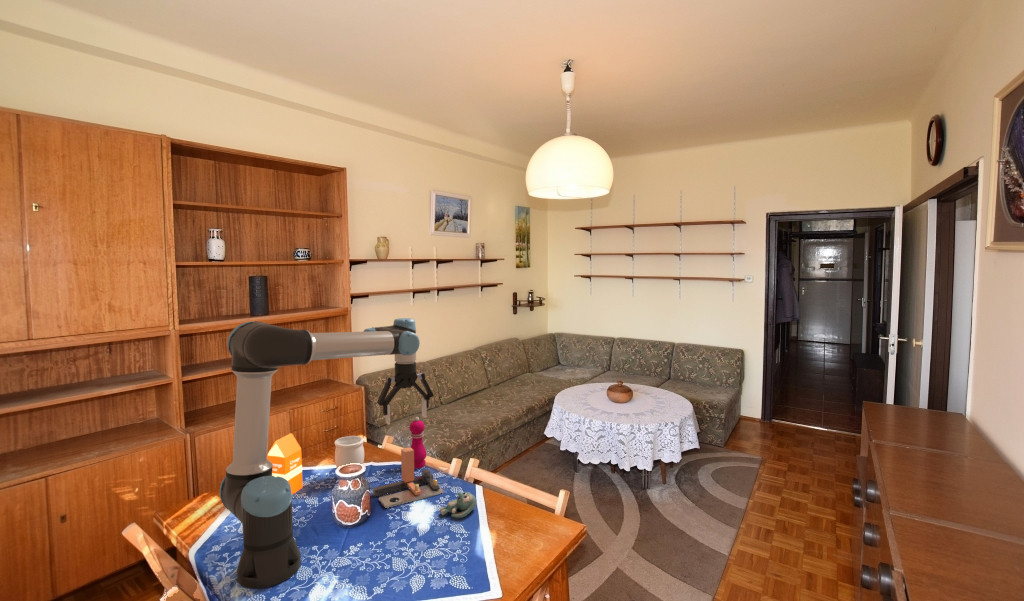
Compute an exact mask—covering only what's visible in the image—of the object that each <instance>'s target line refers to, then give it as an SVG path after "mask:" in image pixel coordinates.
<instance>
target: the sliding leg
mask: <svg viewBox="0 0 1024 601" xmlns="http://www.w3.org/2000/svg"><path fill="white" fill-rule="evenodd" d="M400 452H401V453H400V454H401V456H400V458H401V459H400V461H401V462H400V464H401V481H404V482H405V483H406V482H409V483H407V486H408V490H411V491H412V492H413V493H414V494H415V495H419V494H421V490H420V489H419V487H420V486H419V484H414V483H413V482H410V481H414V478H415V469H414V450H413V449H412V448H411V446H410V447H405V448H401V449H400Z"/></svg>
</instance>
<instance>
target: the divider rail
mask: <svg viewBox="0 0 1024 601" xmlns="http://www.w3.org/2000/svg"><path fill="white" fill-rule="evenodd" d="M410 482H413V483H414V484H419V485H420V486H423V485H422V484H424V485H426V484H425V483H428V484H427V485H430V486H431V487H432V488H433V489H434V490H435V489H438V488H439V486H440V485H439V484H438V479H436V478H434V475H433V473H431V470H430V469H428V468H426V469H421V475H419V476H414V481H410ZM407 483H409V482H406V483H405V482H404V481H403V480H400V481H399V480H398V481H397V482H390V483H387V484H383V485H380V486H376V487H373V488H372V496H373V497H374V498H377V497H381V496H385V495H388V494H387V493H389V494H392V493H391V492H393V493H396V492H395V491H397V492H400V491H399V490H401V491H404V490H408V489H409V488H408V486H407ZM407 488H408V489H407ZM403 489H404V490H403ZM384 494H385V495H384ZM380 495H381V496H380ZM376 496H377V497H376Z"/></svg>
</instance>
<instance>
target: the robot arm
mask: <svg viewBox="0 0 1024 601" xmlns="http://www.w3.org/2000/svg"><path fill="white" fill-rule="evenodd" d="M416 326H417V325H416V321H415V319H413V318H410V317H403V318H402V317H401V318H400V317H399V318H396V319H394V321H393V325H388V326H386V325H385V326H377V327H375V326H372V327H369V328H365V329H364V330H363V331H339V332H338V331H337V332H336V331H335V332H310V331H309V330H308V329H295V328H288V327H283V326H278V325H273V324H270V323H266V322H263V321H254V320H253V321H246V322H242V323H240V324H239V325H237V326H236V327H234V328H233V329H232V330H231V332H230V333H229V335H228V338H227V340H226V345H227V347H226V348H227V350H228V352H229V354H230V355H231V368H230V370H231V372H232V373H233V374H234V375H235V376H236V393H235V394H236V395H235V413H234V430H233V431H234V432H233V449H232V451H233V452H232V461H231V463H229V465H228V466H227V467H226V469H225V476H224V477H223V479H222V481H221V483H220V485H219V498H220V501H221V503H222V505H223V506H224V508H226V510H227V511H229V512H230V513H231V514H232V515H233V516H234V517H236V519H238V520H239V522H240V523H241V526H242V538H243V539H242V541H243V549H242V551H241V555H240V558H239V561H238V564H237V568H236V579H237V583H238V584H239V585H240V586H241V587H242V588H243V587H244V588H247V589H263V588H268V587H269V588H270V587H272V586H276V585H279V584H280V583H283V582H285V581H287V580H288V579H290V578H292V577H293V576H294V575H295V574H296V573H297V572H298V570H299V569H300V568H301V564H302V560H301V559H302V555H301V552H300V549H299V547H298V544H297V543H296V539H295V538H294V534H293V533H294V532H293V531H294V528H293V494H292V491H291V486H290V483H289V482H288V481H287V480H286V479H284V478H282V477H279V476H277V477H274V476H272V470H273V463H272V462H271V461H269V460H268V459H267V454H268V453H269V451H268V449H269V431H270V430H269V429H270V414H271V397H272V396H271V394H272V380H273V379H272V377H273V375H275V373H276V372H278V370H279V368H285V367H293V366H305V365H309V363H311V362H312V361H320V360H321V361H322V360H335V359H347V358H360V357H361V358H362V357H374V356H391V355H392V356H394V361H395V363H394V376H393V377H392V376H391V377H390V376H385V384H384V385H383V388H382V390H381V392H380V395H379V397H378V399H377V401H376V403H377V404H378V406H382V414H383V415H384V416H385V423H386V425H391V406H390V405H389V404H390V402H391V401H392V400H393V399H394V397H395V396H396V394H397V393H398V392H399V391H400V389H407V388H412V387H413V388H414V389H415V390H416V391H417V392H418V393H419V394H420V395H421V397H423V398H421V417H423V418H424V419H426V418H427V417H428V416H427V414H428V413H427V412H428V411H427V409H428V408H429V406H430V403H429V400H430V399H431V398H433V397H434V396H435V395H434V393H433V391H432V389H431V387H430V385H429V383H428V381H427V379H426V375H425V373H424V372H421V371H420V372H419V373H417V362H416V361H417V352H418V350H419V348H420V344H421V343H420V342H421V341H420V337H419V336H418V335H417V333H416V332H417V329H416ZM417 380H419V381H420V382H421V384H422V386H423V388H424V390H425V391H426V392H425V391H424V390H423V389H422V388H421V387H420V386H419V384H418V383H417ZM394 382H395V383H394ZM393 383H394V385H393V387H392V389H391V386H392V384H393ZM390 389H391V390H390Z"/></svg>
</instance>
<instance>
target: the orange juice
mask: <svg viewBox="0 0 1024 601" xmlns="http://www.w3.org/2000/svg"><path fill="white" fill-rule="evenodd" d="M267 459H268V460H269V461H271V462H272V463H273V470H272V476H274V477H277V476H279V477H282V478H284V479H286V480H287V481H288V482H289V483H290V486H291V491H292V495H294V494H295V493H297V492H298V491H300V490H301V489H303V462H302V461H303V458H302V447H301V446H300V444H299V443H298V441H297V439H296V437H295V435H294V434H293V433H292V432H291V433H289V434H287V435H284V436H283V437H281V438H279V439H277V440H275V441H274V443H273V445H272V446H271V448H270V449H269V451H268V453H267Z"/></svg>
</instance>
